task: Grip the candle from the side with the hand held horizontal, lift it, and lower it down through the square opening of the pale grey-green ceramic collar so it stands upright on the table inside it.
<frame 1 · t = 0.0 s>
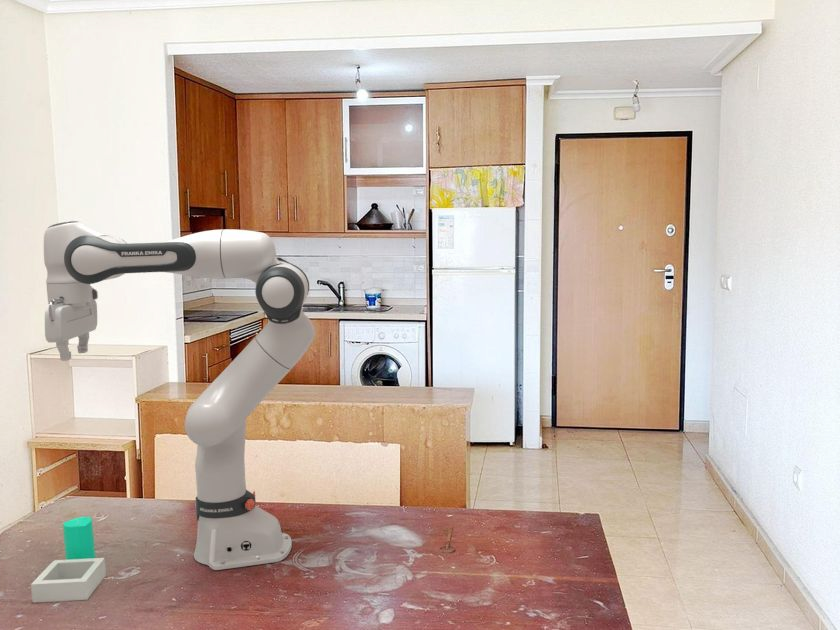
hand: (74, 356, 166), 48 cm above the table, tool pointing down, fingers open, 8 cm apart
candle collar: (70, 588, 159), on the table
candle: (81, 566, 169), on the table
key: (445, 541, 178), on the table
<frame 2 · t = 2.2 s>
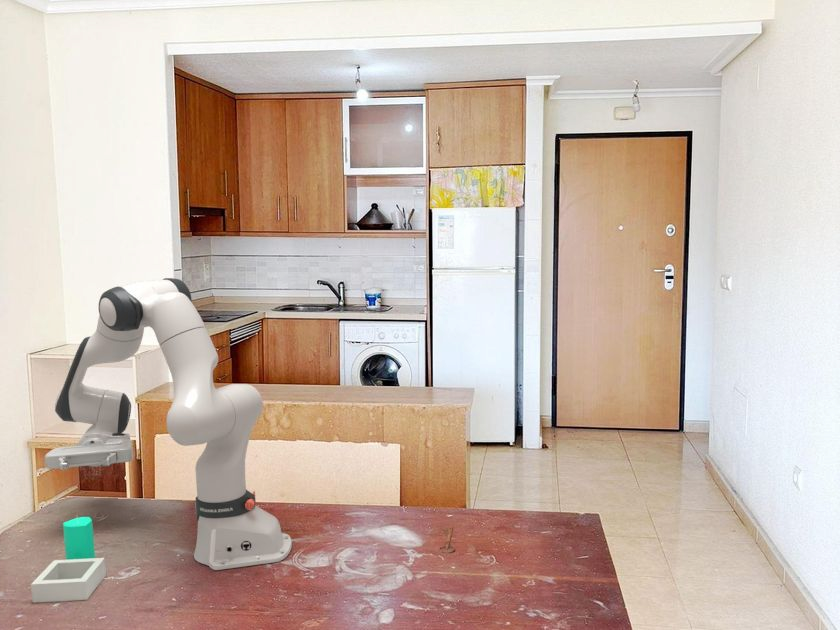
hand: (84, 464, 179), 20 cm above the table, tool horizontal, fingers open, 8 cm apart
nothing on the table moved.
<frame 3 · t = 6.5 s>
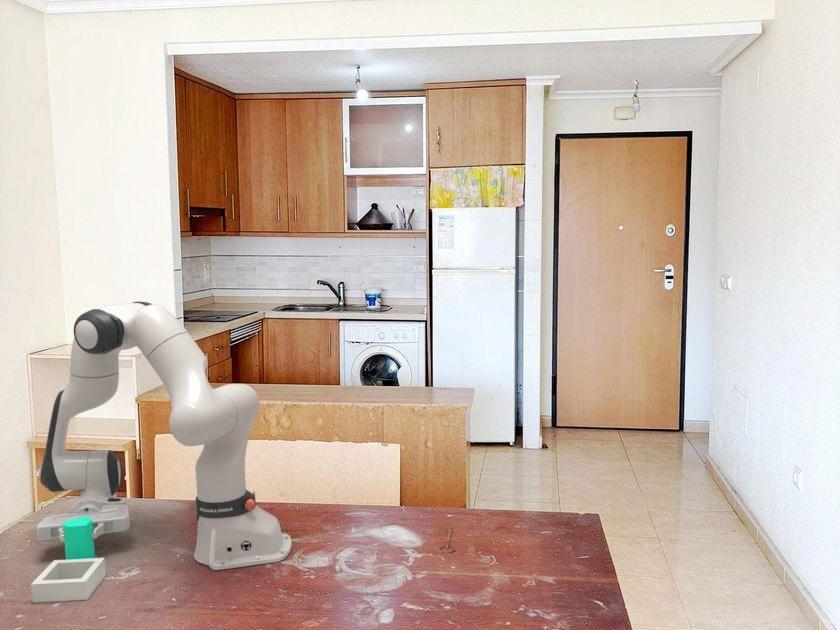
hand: (78, 537, 168), 7 cm above the table, tool horizontal, fingers closed on candle, 5 cm apart
candle: (81, 566, 169), on the table, touching gripper
everything else where it was.
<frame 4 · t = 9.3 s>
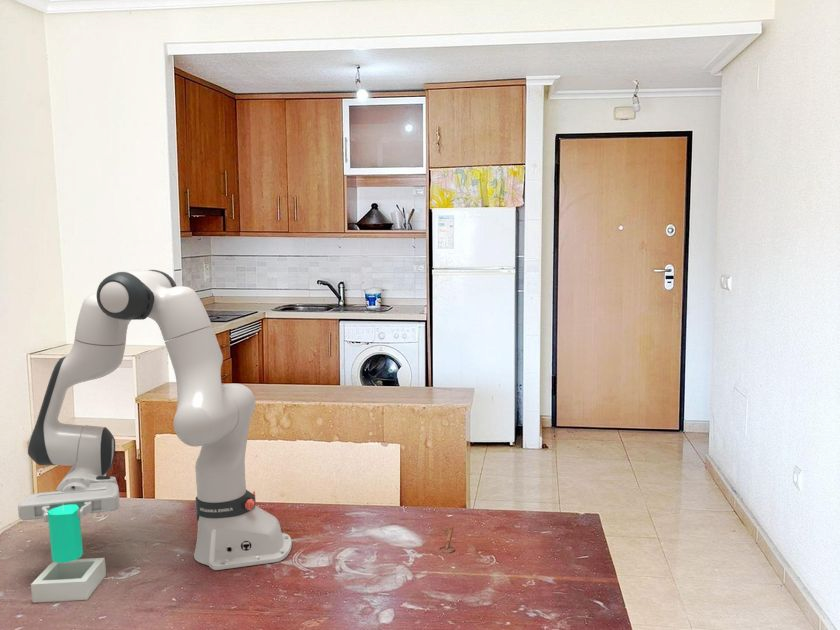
hand: (63, 516, 156), 16 cm above the table, tool horizontal, fingers closed on candle, 5 cm apart
candle: (67, 557, 158), point 7 cm above the table, touching gripper
everything else where it was.
when the fingers open (9 cm above the table, at t = 11.4 s): candle stays where it is, resting in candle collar.
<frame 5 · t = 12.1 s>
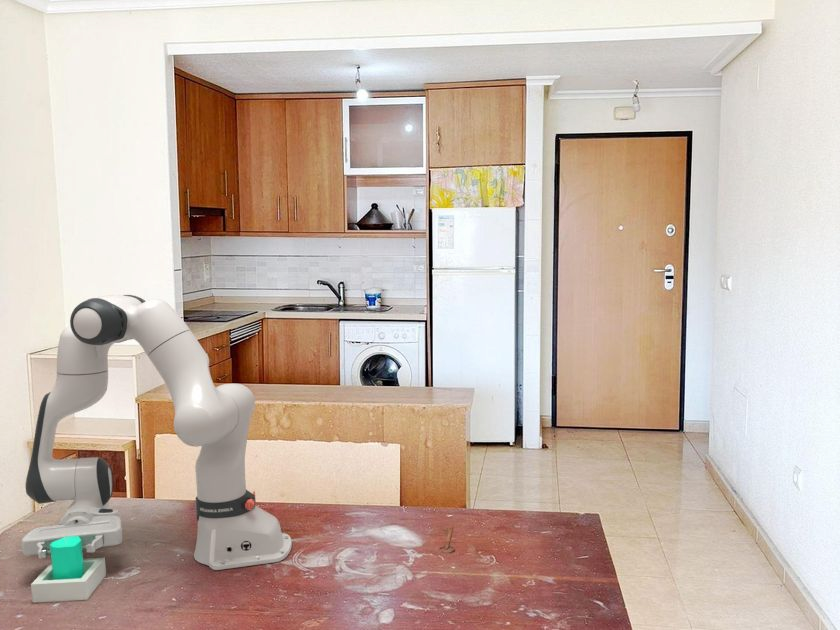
hand: (66, 552, 157), 9 cm above the table, tool horizontal, fingers open, 8 cm apart
candle: (70, 589, 159), resting in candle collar
everything else where it was.
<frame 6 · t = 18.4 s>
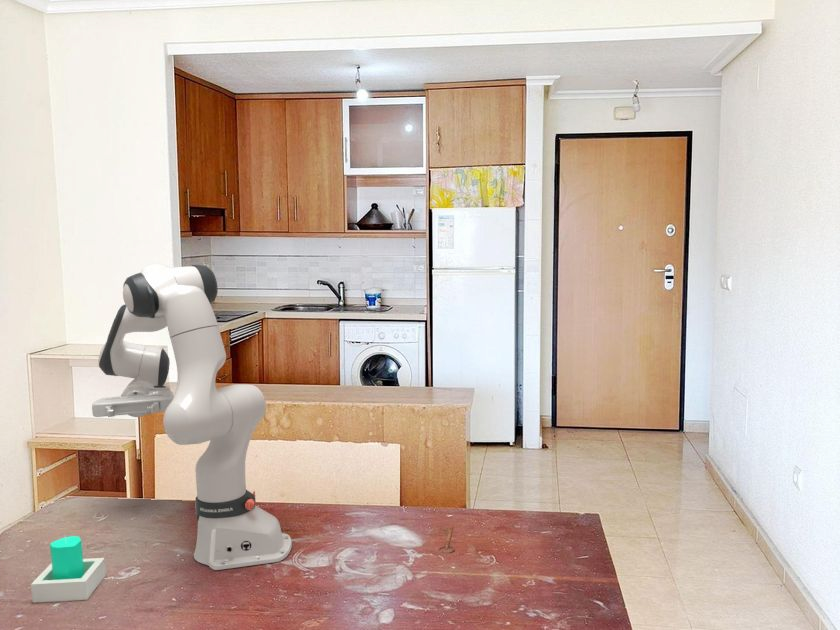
hand: (130, 412, 188), 30 cm above the table, tool horizontal, fingers open, 8 cm apart
nothing on the table moved.
at the end: candle 0.2 cm off-centre on the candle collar, point 0.0 cm above the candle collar's base; candle tilted 0°; the gripper is holding nothing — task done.
